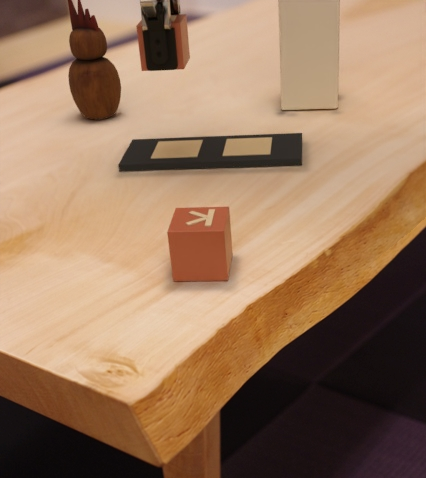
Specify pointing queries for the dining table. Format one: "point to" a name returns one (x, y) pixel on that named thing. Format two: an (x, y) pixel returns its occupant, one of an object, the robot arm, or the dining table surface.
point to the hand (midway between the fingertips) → (166, 61)
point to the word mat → (213, 152)
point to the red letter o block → (180, 35)
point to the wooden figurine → (91, 67)
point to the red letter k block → (200, 244)
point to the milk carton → (309, 53)
